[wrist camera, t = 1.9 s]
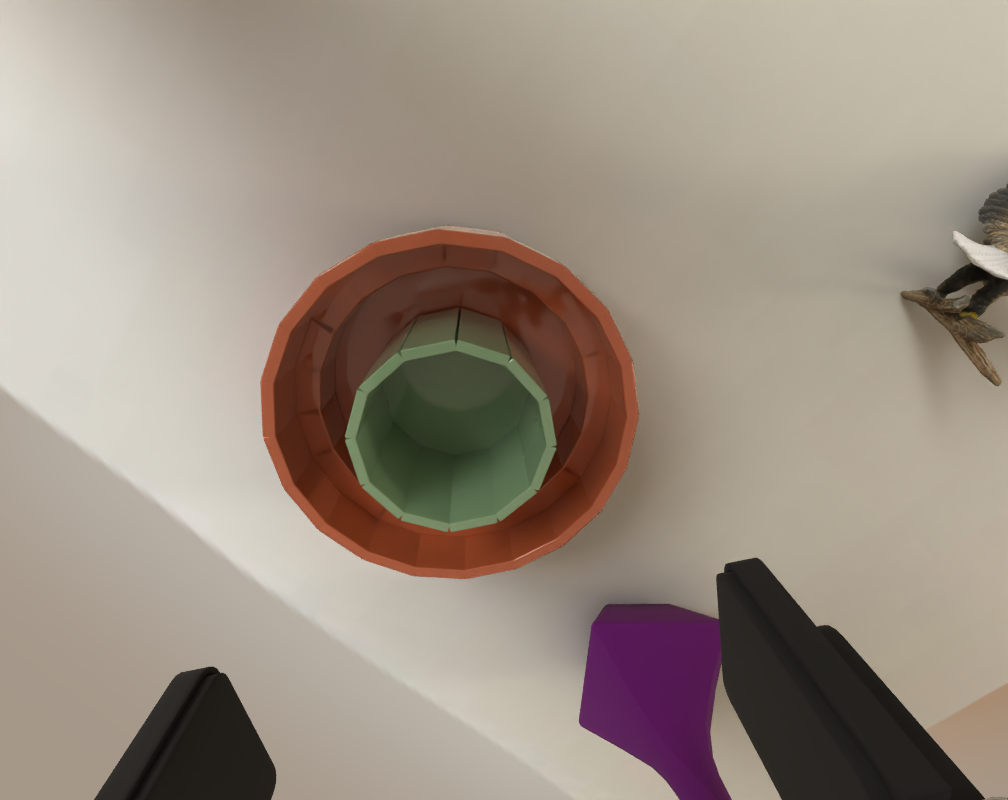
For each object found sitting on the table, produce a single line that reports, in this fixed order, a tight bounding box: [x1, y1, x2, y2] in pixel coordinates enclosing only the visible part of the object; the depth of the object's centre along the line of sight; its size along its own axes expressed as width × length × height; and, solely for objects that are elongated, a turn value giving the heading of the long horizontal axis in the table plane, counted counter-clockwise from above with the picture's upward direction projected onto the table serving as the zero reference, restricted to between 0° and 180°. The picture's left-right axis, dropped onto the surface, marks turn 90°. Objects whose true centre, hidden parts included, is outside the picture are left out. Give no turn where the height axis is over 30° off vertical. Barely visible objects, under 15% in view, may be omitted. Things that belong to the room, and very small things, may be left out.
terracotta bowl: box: [261, 225, 639, 579], centre depth 23 cm, size 15×15×6 cm
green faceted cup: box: [345, 308, 557, 532], centre depth 22 cm, size 8×8×6 cm
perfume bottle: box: [579, 604, 732, 800], centre depth 23 cm, size 8×8×18 cm
